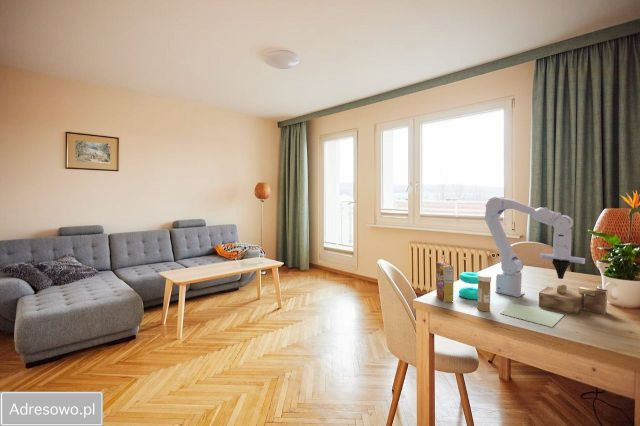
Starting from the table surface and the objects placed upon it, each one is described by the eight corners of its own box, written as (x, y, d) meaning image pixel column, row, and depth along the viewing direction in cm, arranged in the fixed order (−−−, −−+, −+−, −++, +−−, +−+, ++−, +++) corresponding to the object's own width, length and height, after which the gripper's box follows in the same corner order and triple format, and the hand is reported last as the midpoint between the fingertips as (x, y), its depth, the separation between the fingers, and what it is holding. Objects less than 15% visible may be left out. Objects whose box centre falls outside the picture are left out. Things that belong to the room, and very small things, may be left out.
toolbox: (538, 306, 125) (539, 295, 124) (547, 299, 133) (547, 289, 132) (577, 315, 116) (577, 303, 115) (584, 307, 123) (584, 296, 123)
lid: (538, 295, 124) (539, 284, 124) (547, 289, 132) (547, 279, 132) (577, 303, 115) (577, 292, 115) (584, 296, 123) (584, 285, 123)
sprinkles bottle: (490, 312, 119) (491, 277, 118) (476, 310, 121) (477, 275, 120) (490, 308, 123) (491, 274, 122) (477, 306, 125) (478, 273, 124)
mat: (500, 313, 117) (500, 313, 117) (515, 304, 127) (515, 303, 127) (552, 327, 105) (552, 326, 105) (564, 315, 115) (564, 314, 115)
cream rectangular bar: (578, 292, 123) (578, 287, 122) (579, 291, 124) (579, 286, 124) (605, 298, 117) (606, 292, 116) (606, 296, 118) (607, 291, 118)
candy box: (435, 295, 138) (436, 261, 137) (445, 295, 138) (445, 261, 137) (443, 302, 129) (443, 266, 128) (453, 302, 129) (454, 266, 128)
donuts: (471, 278, 130) (454, 272, 139) (471, 301, 131) (453, 294, 140) (490, 275, 133) (471, 270, 143) (489, 298, 134) (470, 292, 143)
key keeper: (583, 309, 121) (584, 288, 120) (585, 307, 123) (586, 286, 123) (604, 314, 116) (605, 291, 116) (606, 311, 119) (607, 289, 118)
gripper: (587, 246, 124) (585, 280, 125) (543, 242, 135) (542, 273, 136) (583, 248, 119) (581, 283, 120) (538, 243, 130) (537, 276, 131)
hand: (560, 278), depth 128 cm, fingers closed
